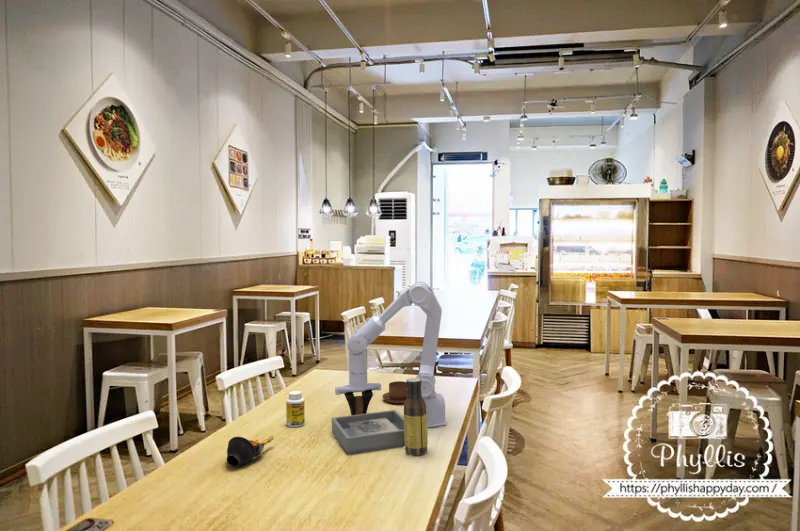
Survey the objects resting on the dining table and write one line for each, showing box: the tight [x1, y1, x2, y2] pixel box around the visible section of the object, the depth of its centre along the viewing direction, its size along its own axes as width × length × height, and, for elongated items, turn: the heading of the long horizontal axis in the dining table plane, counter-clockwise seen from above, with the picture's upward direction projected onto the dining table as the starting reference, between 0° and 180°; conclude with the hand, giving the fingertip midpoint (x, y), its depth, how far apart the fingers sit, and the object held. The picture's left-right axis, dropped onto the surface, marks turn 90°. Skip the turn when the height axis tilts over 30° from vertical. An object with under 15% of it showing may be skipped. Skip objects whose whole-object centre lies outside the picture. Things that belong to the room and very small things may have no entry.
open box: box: [331, 409, 405, 456], centre depth 154 cm, size 20×18×4 cm
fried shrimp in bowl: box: [226, 435, 275, 468], centre depth 141 cm, size 8×10×16 cm
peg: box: [354, 395, 364, 415], centre depth 168 cm, size 3×3×8 cm
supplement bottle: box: [285, 390, 306, 428], centre depth 166 cm, size 6×6×10 cm
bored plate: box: [347, 418, 398, 437], centre depth 154 cm, size 12×12×2 cm
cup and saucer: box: [382, 380, 408, 404], centre depth 191 cm, size 12×12×6 cm
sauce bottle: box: [403, 377, 429, 457], centre depth 144 cm, size 6×6×20 cm
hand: (358, 414), depth 168 cm, fingers closed on peg, 3 cm apart
